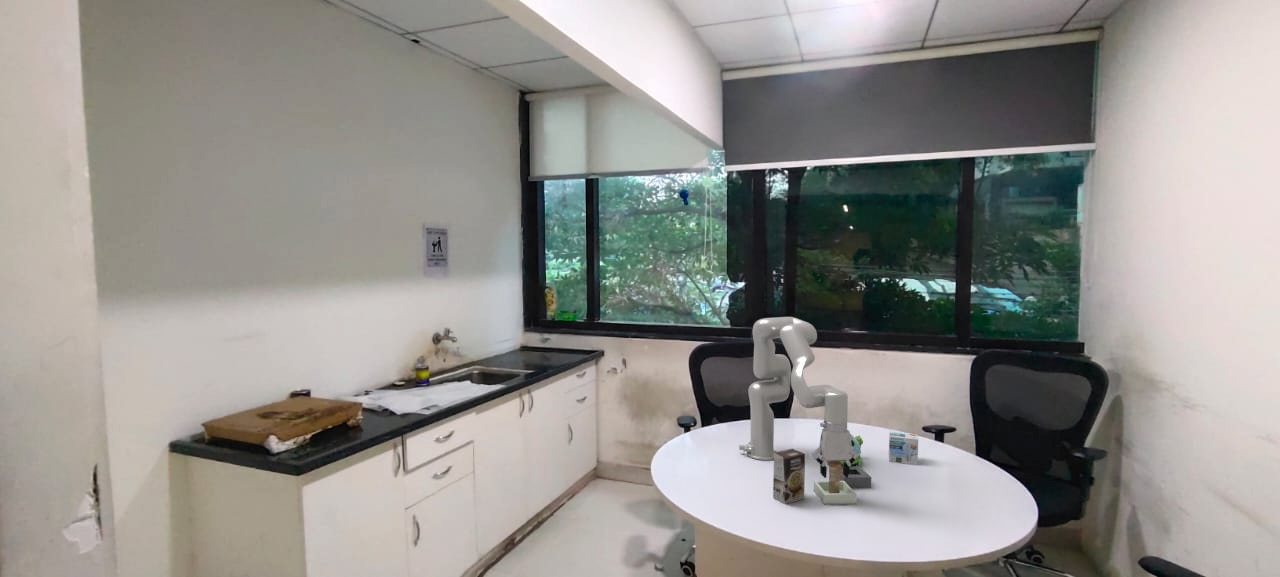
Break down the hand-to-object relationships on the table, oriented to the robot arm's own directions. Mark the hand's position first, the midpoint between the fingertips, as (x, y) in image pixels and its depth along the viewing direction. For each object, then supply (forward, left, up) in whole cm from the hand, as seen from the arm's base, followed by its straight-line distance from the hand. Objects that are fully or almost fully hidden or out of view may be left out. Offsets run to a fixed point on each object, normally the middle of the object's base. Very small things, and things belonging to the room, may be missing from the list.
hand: (834, 475), depth 190 cm
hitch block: (+11, +12, -8) cm, 18 cm away
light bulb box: (+40, +32, -8) cm, 52 cm away
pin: (0, 0, -7) cm, 7 cm away
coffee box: (-16, 0, -8) cm, 18 cm away
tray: (0, 0, -8) cm, 8 cm away
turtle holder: (+16, +31, -8) cm, 36 cm away
